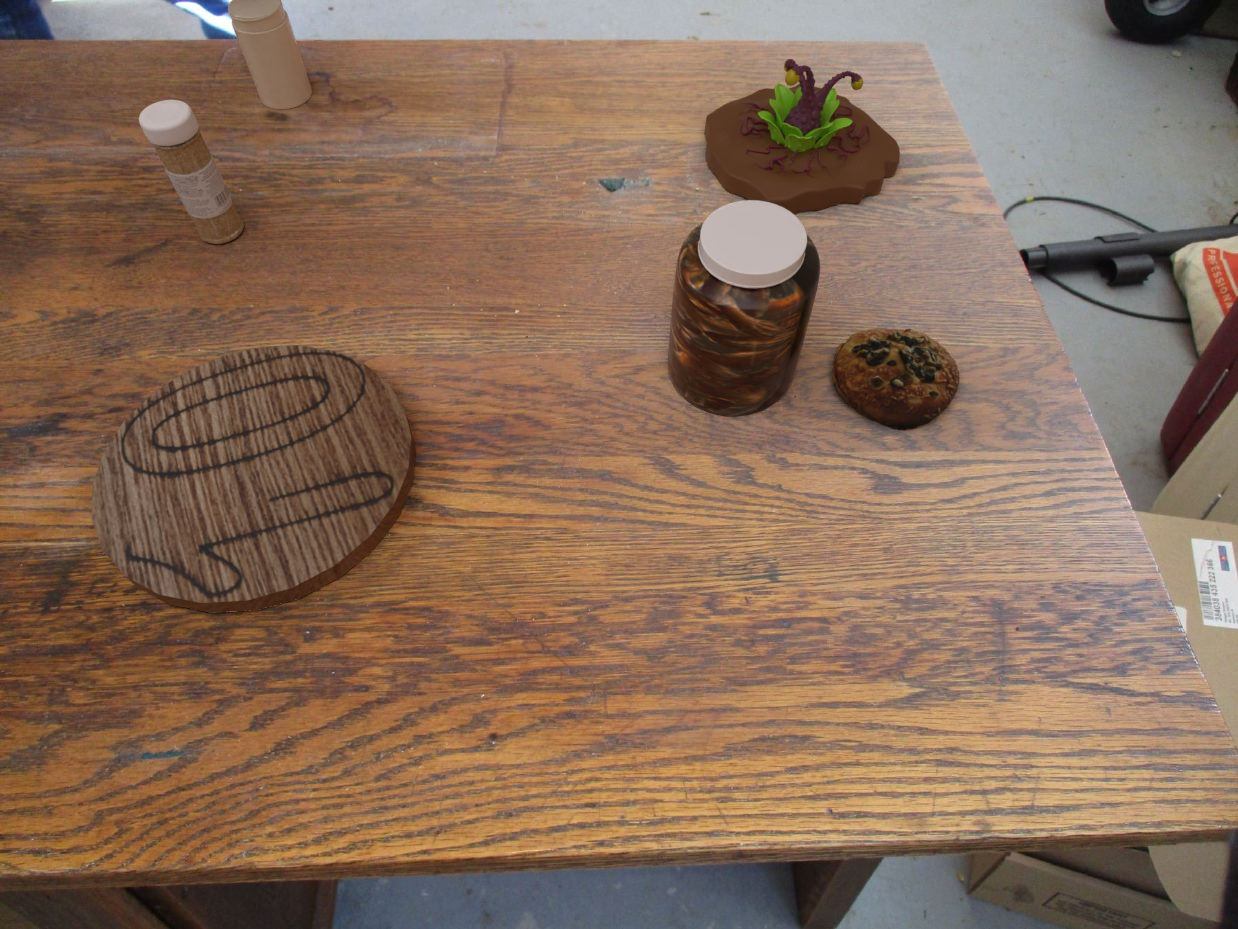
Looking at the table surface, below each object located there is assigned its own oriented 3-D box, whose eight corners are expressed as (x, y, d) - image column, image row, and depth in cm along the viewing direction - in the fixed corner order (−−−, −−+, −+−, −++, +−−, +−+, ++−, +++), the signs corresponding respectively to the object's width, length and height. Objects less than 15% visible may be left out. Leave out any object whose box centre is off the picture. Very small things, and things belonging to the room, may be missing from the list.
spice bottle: (220, 211, 87) (162, 92, 76) (254, 225, 86) (201, 105, 75) (189, 238, 85) (125, 118, 73) (224, 252, 84) (164, 133, 72)
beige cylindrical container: (250, 95, 99) (214, 4, 90) (291, 74, 101) (261, -17, 92) (280, 115, 96) (247, 24, 88) (322, 93, 99) (294, 2, 90)
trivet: (458, 534, 66) (454, 522, 64) (126, 669, 59) (113, 659, 58) (367, 325, 78) (361, 310, 76) (85, 417, 72) (73, 404, 70)
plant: (672, 132, 95) (678, 35, 86) (814, 88, 100) (834, -8, 91) (767, 238, 85) (786, 142, 76) (919, 183, 90) (954, 86, 81)
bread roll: (877, 448, 70) (891, 405, 66) (803, 369, 77) (812, 326, 73) (981, 408, 73) (999, 364, 69) (901, 336, 80) (914, 293, 76)
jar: (811, 407, 73) (852, 281, 60) (681, 424, 72) (695, 299, 59) (775, 311, 79) (805, 178, 67) (655, 325, 78) (663, 193, 66)
